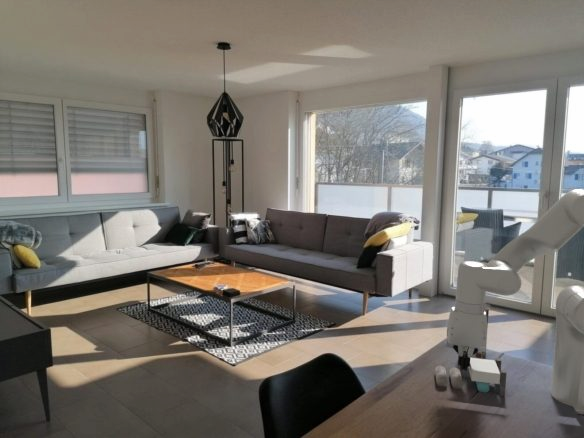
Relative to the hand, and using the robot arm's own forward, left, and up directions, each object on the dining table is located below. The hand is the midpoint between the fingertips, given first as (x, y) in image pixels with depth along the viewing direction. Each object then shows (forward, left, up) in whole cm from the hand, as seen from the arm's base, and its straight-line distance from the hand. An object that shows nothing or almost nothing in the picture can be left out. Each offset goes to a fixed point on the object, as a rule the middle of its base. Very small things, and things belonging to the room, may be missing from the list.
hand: (463, 368), depth 122 cm
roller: (-5, 0, -3) cm, 6 cm away
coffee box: (-5, -20, -6) cm, 22 cm away
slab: (-5, 0, -1) cm, 5 cm away
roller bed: (-1, 0, -6) cm, 6 cm away
